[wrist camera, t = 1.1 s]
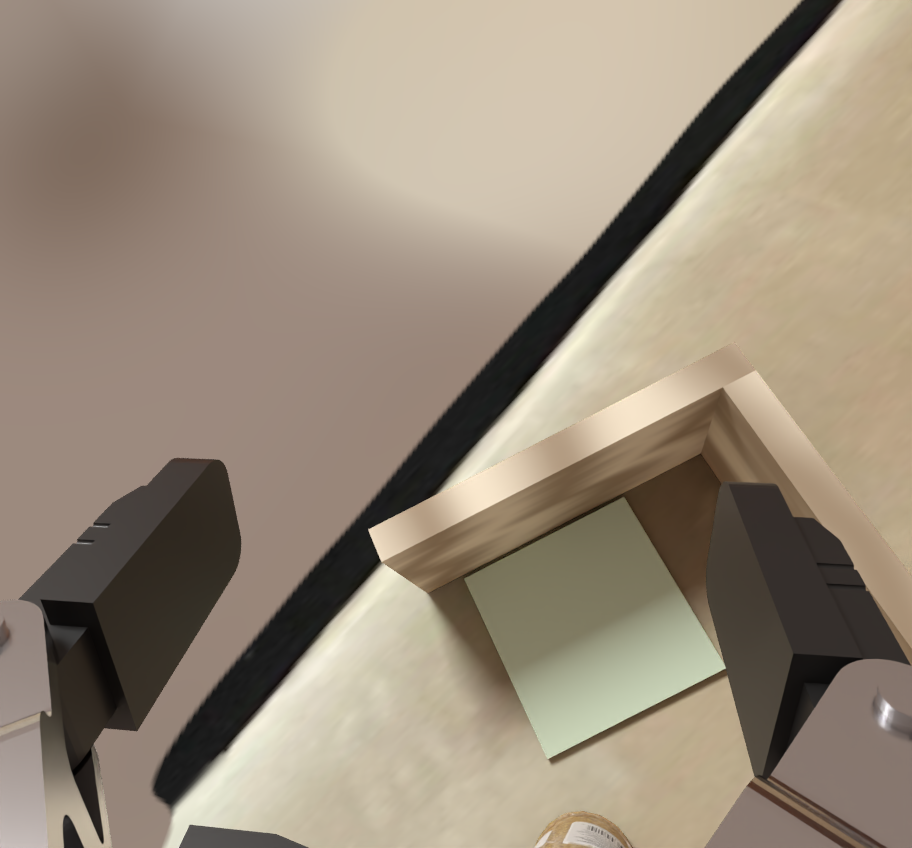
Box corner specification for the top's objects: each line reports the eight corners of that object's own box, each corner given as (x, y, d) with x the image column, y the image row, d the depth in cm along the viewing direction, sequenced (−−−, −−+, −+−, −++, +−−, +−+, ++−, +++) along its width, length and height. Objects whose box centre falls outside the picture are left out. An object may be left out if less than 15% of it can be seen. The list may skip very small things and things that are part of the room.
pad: (624, 498, 36) (624, 496, 36) (725, 668, 32) (726, 668, 32) (464, 579, 36) (463, 578, 36) (548, 758, 32) (547, 759, 32)
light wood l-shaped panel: (710, 416, 37) (734, 342, 30) (949, 758, 29) (1059, 771, 22) (416, 567, 37) (368, 529, 30) (580, 945, 30) (570, 1018, 22)
